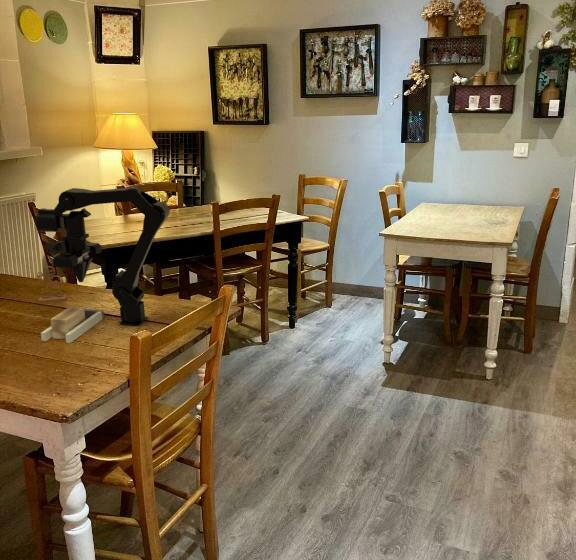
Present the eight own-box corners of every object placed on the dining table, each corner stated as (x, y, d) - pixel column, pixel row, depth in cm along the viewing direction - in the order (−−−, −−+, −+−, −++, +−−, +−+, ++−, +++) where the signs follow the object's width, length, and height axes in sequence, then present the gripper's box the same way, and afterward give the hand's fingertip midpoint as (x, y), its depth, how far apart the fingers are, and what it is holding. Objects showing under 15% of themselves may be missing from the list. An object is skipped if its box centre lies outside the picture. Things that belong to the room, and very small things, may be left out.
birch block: (86, 327, 178) (84, 308, 176) (68, 339, 168) (66, 320, 167) (71, 325, 179) (68, 307, 177) (52, 338, 169) (50, 319, 168)
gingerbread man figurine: (67, 297, 204) (63, 264, 200) (66, 300, 200) (62, 267, 197) (40, 299, 202) (35, 265, 198) (38, 302, 198) (33, 268, 195)
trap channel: (104, 317, 185) (103, 310, 184) (70, 343, 166) (69, 335, 165) (78, 316, 186) (77, 308, 185) (41, 340, 167) (40, 332, 166)
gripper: (67, 224, 184) (72, 271, 188) (32, 237, 166) (39, 289, 171) (100, 225, 182) (104, 273, 186) (68, 239, 164) (74, 292, 169)
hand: (81, 281), depth 178 cm, fingers closed
